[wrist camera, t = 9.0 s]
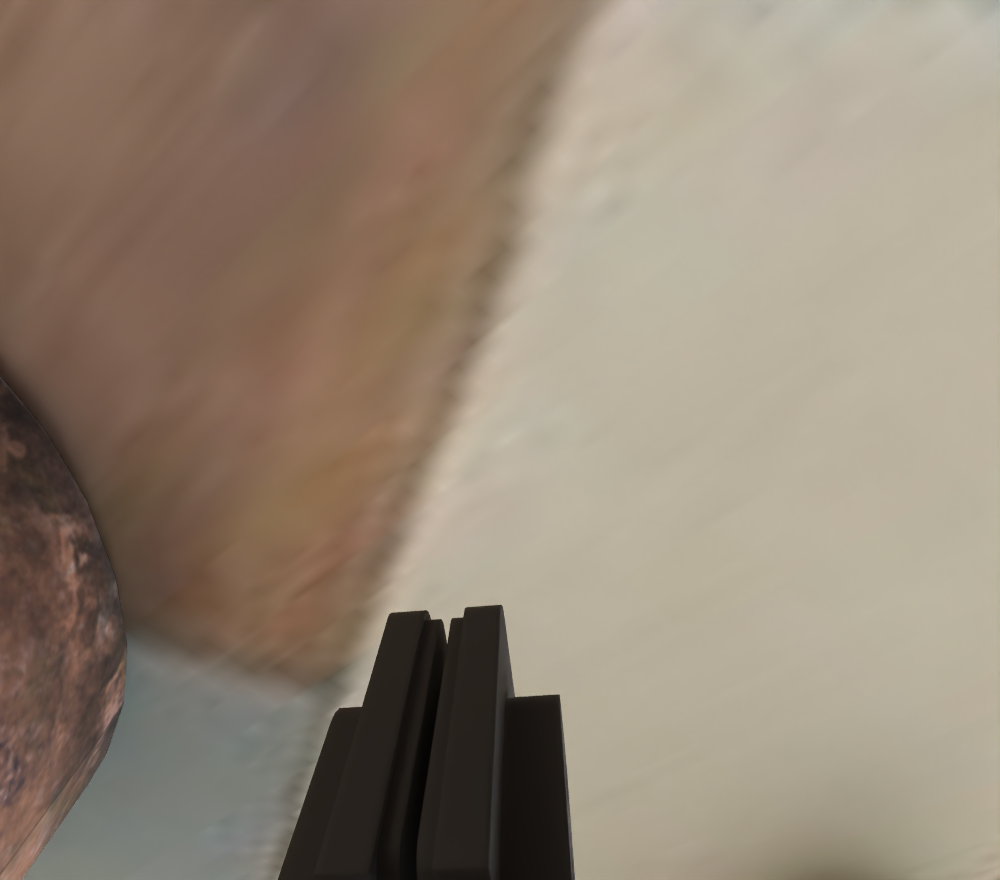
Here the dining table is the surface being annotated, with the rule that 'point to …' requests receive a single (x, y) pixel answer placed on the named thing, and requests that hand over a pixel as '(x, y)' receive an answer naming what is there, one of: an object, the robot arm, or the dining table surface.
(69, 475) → the cooking pot
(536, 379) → the dining table surface
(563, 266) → the dining table surface
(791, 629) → the dining table surface
